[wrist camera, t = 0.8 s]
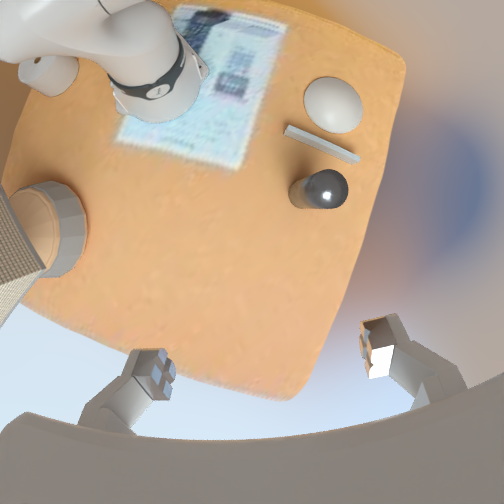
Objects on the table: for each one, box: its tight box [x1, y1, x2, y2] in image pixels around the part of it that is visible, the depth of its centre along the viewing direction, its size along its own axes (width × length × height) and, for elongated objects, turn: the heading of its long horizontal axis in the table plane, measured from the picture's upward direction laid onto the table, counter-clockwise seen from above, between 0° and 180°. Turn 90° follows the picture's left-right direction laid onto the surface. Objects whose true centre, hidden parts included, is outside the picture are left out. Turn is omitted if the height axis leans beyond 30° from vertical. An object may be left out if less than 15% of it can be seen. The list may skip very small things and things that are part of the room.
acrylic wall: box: [283, 125, 361, 165], centre depth 49 cm, size 14×1×4 cm, turn 70°
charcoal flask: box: [289, 169, 348, 209], centre depth 44 cm, size 5×5×15 cm
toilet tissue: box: [18, 55, 79, 97], centre depth 39 cm, size 11×12×10 cm
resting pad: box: [304, 77, 363, 134], centre depth 49 cm, size 12×12×1 cm
